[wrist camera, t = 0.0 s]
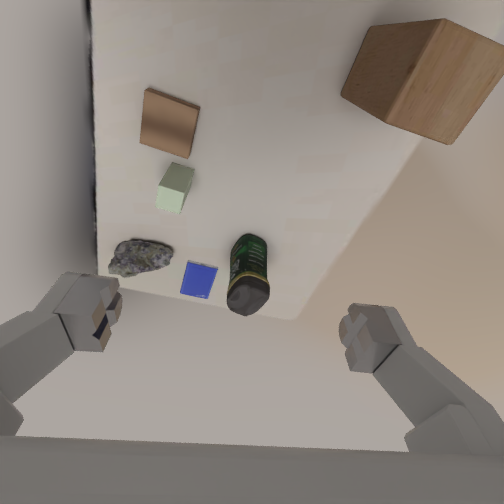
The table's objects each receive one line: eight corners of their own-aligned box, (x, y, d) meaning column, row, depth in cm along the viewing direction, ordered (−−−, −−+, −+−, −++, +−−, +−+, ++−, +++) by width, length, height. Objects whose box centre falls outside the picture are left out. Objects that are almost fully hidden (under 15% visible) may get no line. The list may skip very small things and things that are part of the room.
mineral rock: (176, 246, 68) (167, 274, 60) (162, 273, 74) (152, 301, 66) (125, 225, 64) (108, 251, 56) (114, 255, 70) (97, 282, 62)
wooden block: (338, 95, 48) (383, 122, 32) (369, 25, 42) (443, 15, 26) (387, 113, 49) (452, 147, 34) (423, 48, 43) (522, 52, 28)
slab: (149, 87, 47) (144, 89, 44) (200, 106, 49) (198, 110, 46) (144, 138, 52) (139, 142, 50) (190, 153, 54) (187, 159, 52)
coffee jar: (244, 228, 65) (243, 283, 50) (271, 242, 67) (277, 297, 53) (225, 255, 70) (219, 311, 55) (251, 266, 73) (252, 323, 58)
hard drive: (207, 299, 79) (217, 269, 72) (179, 293, 77) (187, 262, 70) (208, 295, 80) (218, 265, 73) (180, 289, 78) (188, 258, 71)
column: (172, 162, 55) (158, 185, 46) (194, 169, 56) (184, 193, 47) (169, 181, 57) (155, 207, 49) (189, 188, 58) (179, 214, 50)
